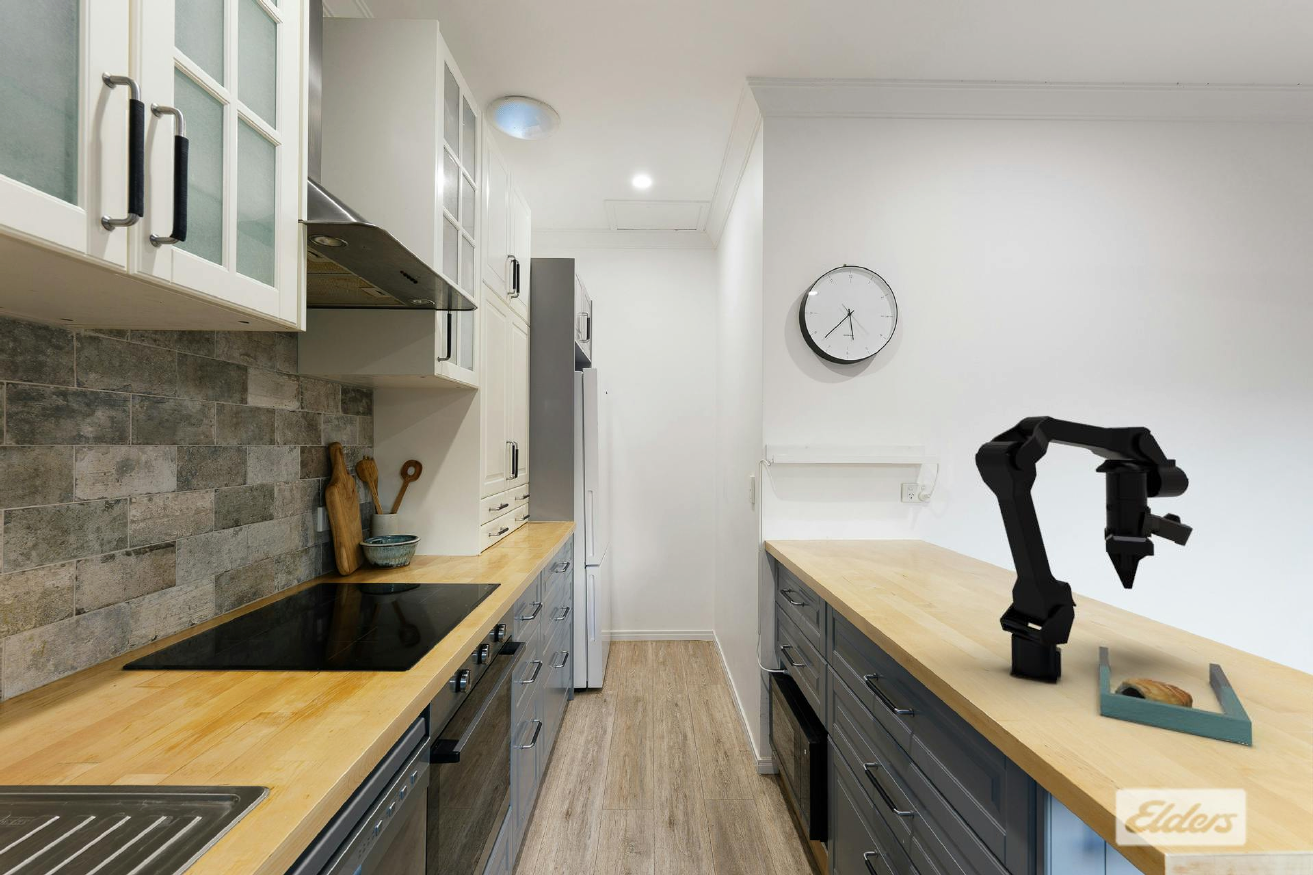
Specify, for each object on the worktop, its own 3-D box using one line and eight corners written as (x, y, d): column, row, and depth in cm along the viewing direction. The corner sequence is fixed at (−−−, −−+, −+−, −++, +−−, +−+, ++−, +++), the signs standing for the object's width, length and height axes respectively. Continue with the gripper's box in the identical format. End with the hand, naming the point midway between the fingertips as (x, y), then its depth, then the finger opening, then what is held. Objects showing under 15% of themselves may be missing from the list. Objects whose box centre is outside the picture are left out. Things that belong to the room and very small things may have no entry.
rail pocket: (1100, 714, 85) (1100, 693, 85) (1099, 663, 105) (1099, 646, 105) (1252, 746, 76) (1251, 722, 76) (1219, 683, 96) (1219, 664, 96)
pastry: (1161, 694, 93) (1161, 669, 93) (1209, 714, 86) (1209, 687, 86) (1110, 699, 91) (1110, 674, 91) (1155, 720, 84) (1154, 692, 84)
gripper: (1195, 505, 93) (1197, 607, 93) (1181, 496, 108) (1182, 584, 108) (1105, 502, 99) (1106, 597, 99) (1103, 494, 114) (1105, 576, 114)
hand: (1127, 588), depth 105 cm, fingers closed
